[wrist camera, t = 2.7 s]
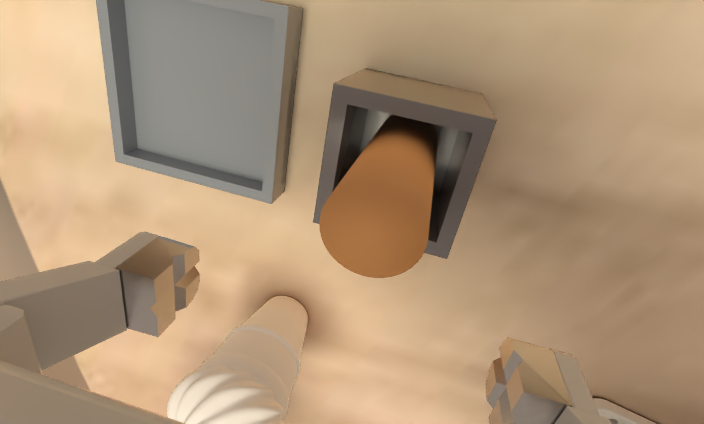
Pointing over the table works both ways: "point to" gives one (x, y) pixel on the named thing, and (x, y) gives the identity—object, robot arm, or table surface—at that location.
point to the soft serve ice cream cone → (247, 371)
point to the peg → (384, 201)
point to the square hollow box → (419, 104)
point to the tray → (203, 89)
